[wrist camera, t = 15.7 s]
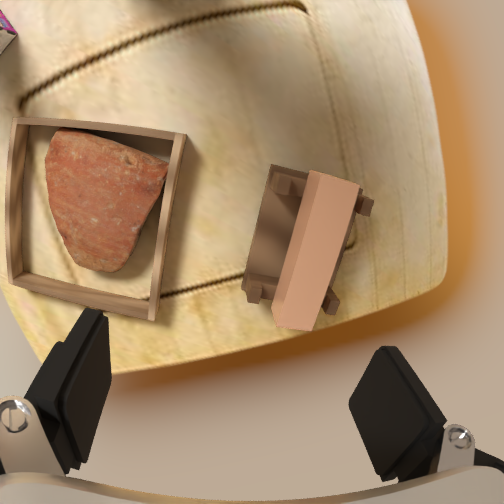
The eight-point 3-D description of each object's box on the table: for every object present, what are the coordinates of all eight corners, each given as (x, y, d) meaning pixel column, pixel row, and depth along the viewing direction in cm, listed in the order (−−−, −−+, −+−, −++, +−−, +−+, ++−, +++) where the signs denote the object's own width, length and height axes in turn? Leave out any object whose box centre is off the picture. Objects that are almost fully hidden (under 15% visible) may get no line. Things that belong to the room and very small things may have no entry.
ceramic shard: (16, 245, 29) (54, 119, 27) (45, 238, 36) (80, 129, 34) (116, 299, 31) (167, 160, 28) (136, 283, 37) (180, 166, 35)
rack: (271, 164, 34) (278, 168, 29) (359, 188, 36) (378, 195, 31) (241, 286, 39) (243, 306, 34) (323, 299, 41) (335, 319, 36)
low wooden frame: (26, 117, 29) (13, 117, 26) (186, 134, 32) (183, 134, 29) (19, 274, 36) (8, 283, 33) (158, 308, 39) (154, 321, 36)
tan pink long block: (309, 169, 31) (321, 173, 27) (344, 179, 32) (359, 185, 28) (270, 307, 36) (276, 326, 32) (303, 312, 37) (311, 331, 33)
